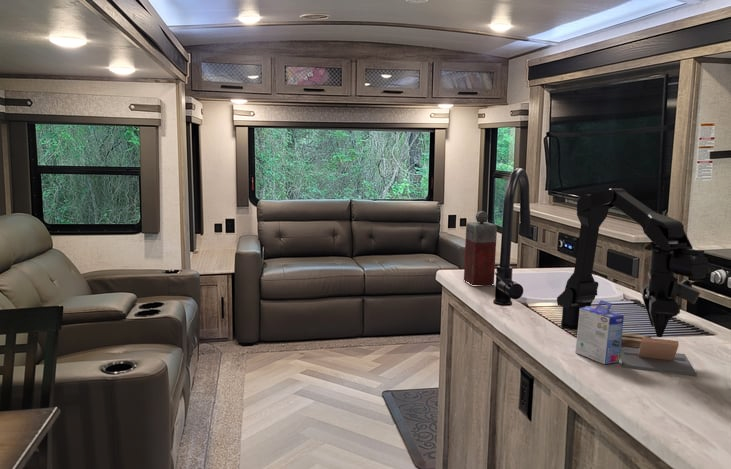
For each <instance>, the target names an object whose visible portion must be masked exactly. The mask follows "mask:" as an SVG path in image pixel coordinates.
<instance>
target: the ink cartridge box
mask: <svg viewBox="0 0 731 469" xmlns="http://www.w3.org/2000/svg"><path fill="white" fill-rule="evenodd" d="M601 305H606V306H607V307H604V306H601ZM612 305H613V303H612V302H608V301H605V300H604V299H603V300H602V299H600V300H599V302H598V304H597V306H587V307H584V308H580V311H579V322H578V329H577V333H576V334H577V335H576V342H575V353H576V354H578V355H580V356H583V357H586V358H588V359H590V360H593V361H595V362H597V363H600V364H602V365H609V364H617V363H620V361H621V358H620V350H621V347H622V346H621V339H622V333H623V330H624V329H623V328H624V318H625V314H621V313H617V312H613V311H610V310H611V308H612Z"/></svg>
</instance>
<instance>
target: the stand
mask: <svg viewBox="0 0 731 469" xmlns="http://www.w3.org/2000/svg"><path fill="white" fill-rule="evenodd" d="M642 337H646V338H652V337H651V336H650V335H644V334H643V335H642V334H633V333H625V332H622V339H621V347H629V348H639V347H640V344H641V340H642Z"/></svg>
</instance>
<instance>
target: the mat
mask: <svg viewBox="0 0 731 469" xmlns="http://www.w3.org/2000/svg"><path fill="white" fill-rule="evenodd" d="M638 351H639V348H636V347H627V346H621V350H620V361H621V365H622V367H623V368H629V369H635V370H636V369H637V370H643V371H645V370H646V371H652V372H653V371H654V372H659V373H668V374H677V375H685V376H686V375H687V376H693V377H694V376H695V377H697V375H698V374H697V371H696V370H695V369H694V366H693V365H692V364H691V362H690V360H689V359H688V357H687V355H686V354H685V353H678V352H676V354H675V357H674V360H673V361H672V360H664V359H655V358H647V357H638Z"/></svg>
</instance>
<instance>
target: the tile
mask: <svg viewBox="0 0 731 469" xmlns="http://www.w3.org/2000/svg"><path fill="white" fill-rule="evenodd" d="M679 346H680V345H679V340H672V339H663V338H662V339H661V338H655V337H654V338H652V337H651V338H646V337H642V340H641V344H640V347H638V349H639V351H638V357H647V358H655V359H664V360H672V361H673V360H674V357H675V354H676V353H677V351H678V348H679Z"/></svg>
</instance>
